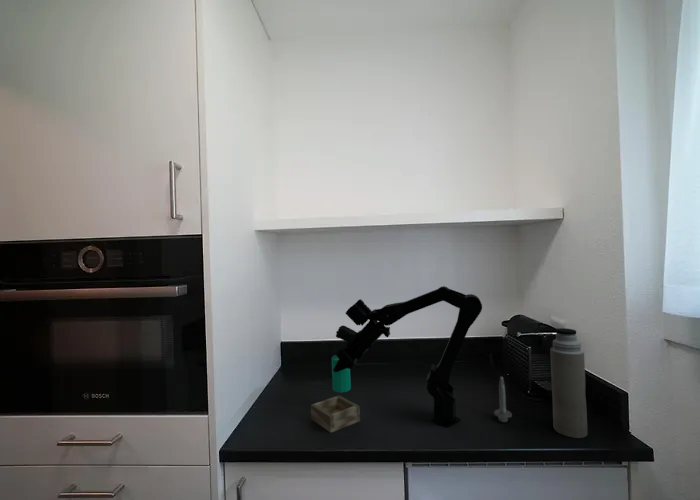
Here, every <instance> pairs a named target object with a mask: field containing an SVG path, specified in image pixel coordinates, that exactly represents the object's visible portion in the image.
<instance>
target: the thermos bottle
mask: <svg viewBox="0 0 700 500" xmlns="http://www.w3.org/2000/svg"><path fill="white" fill-rule="evenodd" d="M555 333H556V334H555V339H553V340H552V347H550V350H549V351H550V371H551V373H550V374H551V376H550V377H551V392H552V393H551V395H552V419H553V420H552V423H553V429H554V430H555V432H557V433H559V434H560V435H563V436H566V437H570V438H575V439H581V438H582V439H583V438H585V437H587V436H588V417H587V416H588V413H587V412H588V411H587V398H586V366H585V351H584V350H582V344H581V342H580V341H579V340H578V339H577V330H575V329H572V328H564V327H563V328H562V327H561V328H555Z"/></svg>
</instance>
